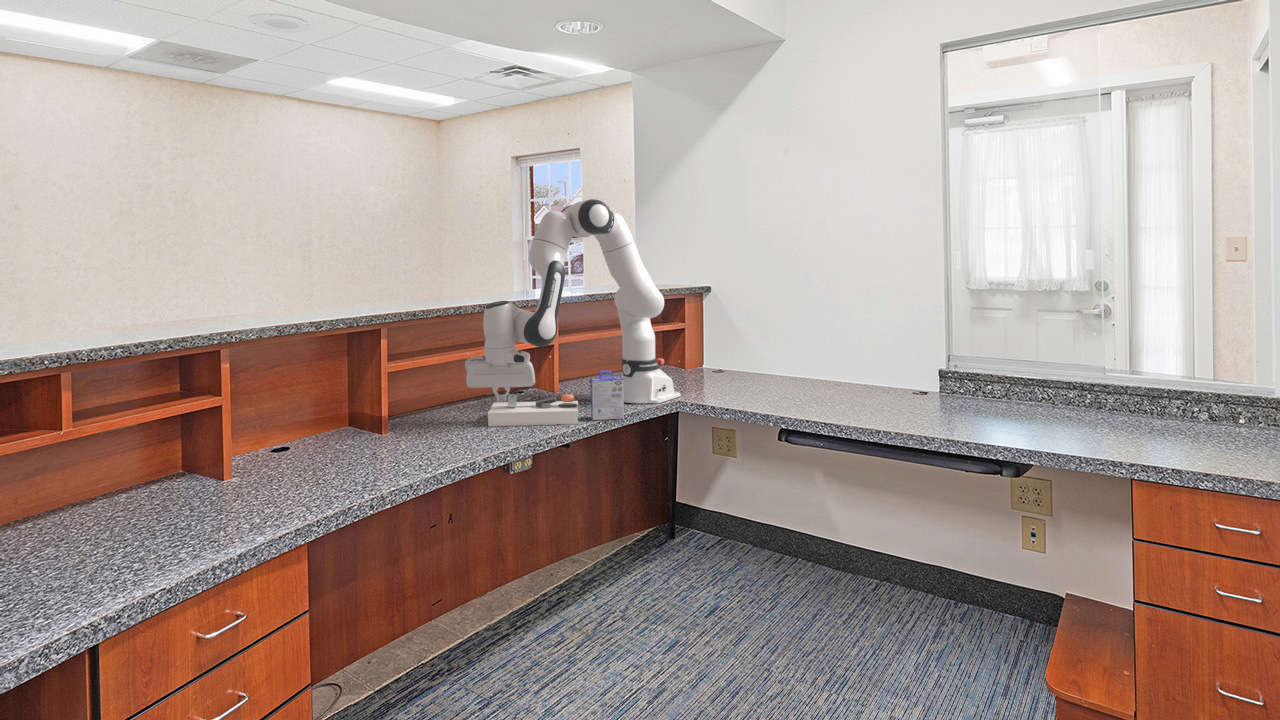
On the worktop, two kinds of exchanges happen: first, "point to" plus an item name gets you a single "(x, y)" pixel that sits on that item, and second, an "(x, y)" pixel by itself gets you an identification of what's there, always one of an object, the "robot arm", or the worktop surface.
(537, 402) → the rocker switch
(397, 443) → the worktop surface
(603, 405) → the ink cartridge box
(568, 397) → the push button
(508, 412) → the control panel
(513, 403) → the slider knob
